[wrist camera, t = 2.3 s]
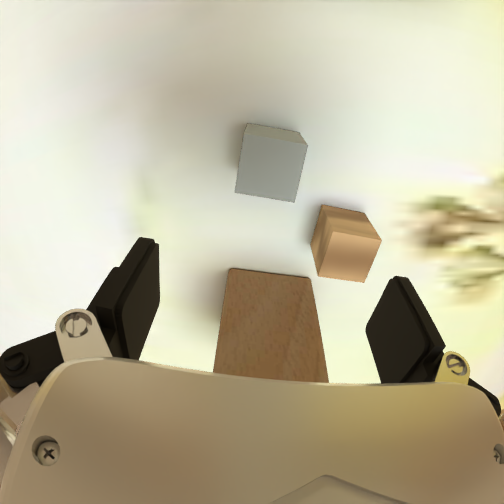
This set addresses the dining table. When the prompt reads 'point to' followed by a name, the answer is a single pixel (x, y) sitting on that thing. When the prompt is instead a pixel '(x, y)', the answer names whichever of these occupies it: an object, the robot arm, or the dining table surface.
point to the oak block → (344, 244)
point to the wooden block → (270, 329)
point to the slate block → (270, 162)
